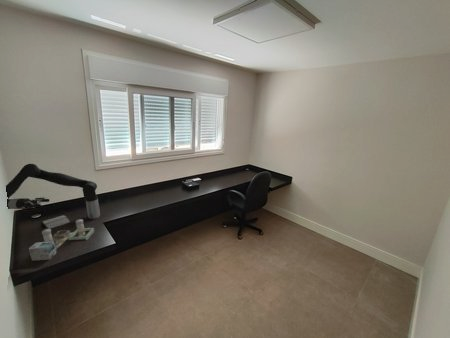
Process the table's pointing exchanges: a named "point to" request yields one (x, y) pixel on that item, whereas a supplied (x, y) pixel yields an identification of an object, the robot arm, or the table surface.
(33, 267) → the table surface
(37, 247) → the light bulb box
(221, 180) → the table surface
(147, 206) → the table surface
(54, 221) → the gadget
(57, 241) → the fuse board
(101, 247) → the table surface
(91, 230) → the tray
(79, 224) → the fuse marked
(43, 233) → the fuse
